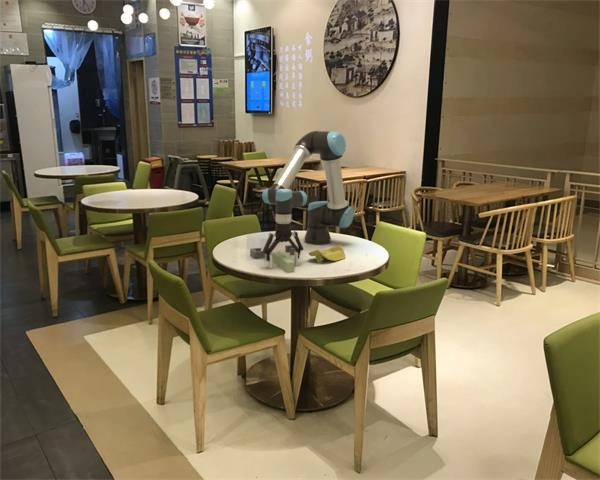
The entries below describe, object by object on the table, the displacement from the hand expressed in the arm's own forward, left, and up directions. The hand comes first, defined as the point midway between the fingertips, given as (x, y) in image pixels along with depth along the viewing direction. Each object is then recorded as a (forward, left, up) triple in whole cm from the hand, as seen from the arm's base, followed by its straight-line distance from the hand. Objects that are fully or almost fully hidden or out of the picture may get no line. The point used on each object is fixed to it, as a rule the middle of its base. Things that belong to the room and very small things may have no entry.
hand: (283, 266), depth 247 cm
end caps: (-4, -21, 0) cm, 21 cm away
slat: (0, 0, -1) cm, 1 cm away
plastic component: (-25, -5, -1) cm, 25 cm away
